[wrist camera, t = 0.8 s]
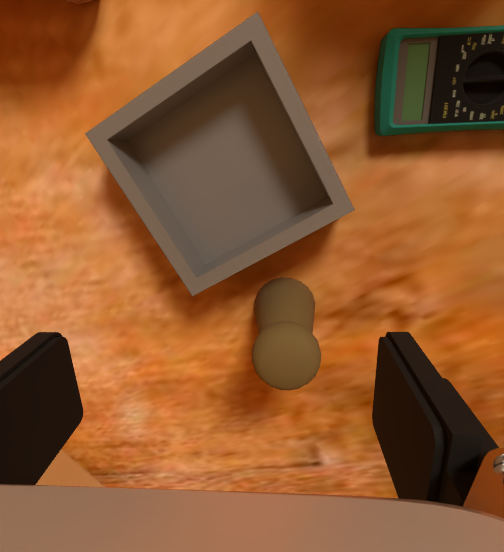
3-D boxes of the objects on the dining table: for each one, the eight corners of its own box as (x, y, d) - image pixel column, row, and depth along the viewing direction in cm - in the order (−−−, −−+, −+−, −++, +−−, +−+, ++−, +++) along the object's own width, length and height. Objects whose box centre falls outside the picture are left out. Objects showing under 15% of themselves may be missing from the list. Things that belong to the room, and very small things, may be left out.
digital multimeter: (554, 129, 30) (583, 127, 27) (370, 137, 31) (379, 135, 28) (577, 25, 28) (611, 11, 25) (377, 37, 29) (387, 25, 26)
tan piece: (286, 265, 35) (289, 313, 24) (327, 308, 36) (347, 371, 26) (241, 304, 36) (226, 365, 26) (282, 344, 38) (283, 417, 27)
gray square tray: (343, 201, 32) (354, 209, 28) (203, 277, 36) (192, 296, 31) (261, 34, 29) (257, 11, 24) (113, 136, 32) (85, 133, 27)
